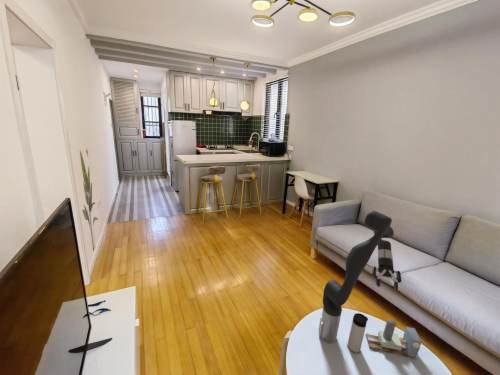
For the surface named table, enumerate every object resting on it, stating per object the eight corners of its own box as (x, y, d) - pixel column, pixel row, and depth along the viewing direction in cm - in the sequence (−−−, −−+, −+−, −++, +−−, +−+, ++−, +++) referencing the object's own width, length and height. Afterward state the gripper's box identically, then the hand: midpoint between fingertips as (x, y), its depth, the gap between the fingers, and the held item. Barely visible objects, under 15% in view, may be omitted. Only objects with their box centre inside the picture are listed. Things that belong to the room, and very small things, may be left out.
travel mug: (362, 354, 119) (369, 323, 114) (348, 351, 121) (355, 320, 115) (359, 344, 125) (366, 313, 120) (346, 341, 127) (352, 311, 121)
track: (369, 348, 123) (370, 345, 123) (365, 335, 131) (366, 332, 130) (416, 359, 119) (417, 355, 118) (409, 345, 126) (410, 341, 126)
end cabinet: (408, 355, 119) (412, 340, 116) (401, 341, 127) (406, 326, 124) (416, 357, 118) (421, 342, 116) (410, 343, 126) (414, 328, 123)
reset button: (399, 346, 122) (401, 341, 121) (397, 340, 125) (398, 335, 124) (406, 348, 121) (408, 342, 120) (403, 342, 124) (405, 336, 123)
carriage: (381, 346, 122) (387, 326, 118) (377, 335, 129) (382, 315, 125) (400, 350, 120) (406, 330, 117) (395, 338, 127) (401, 319, 123)
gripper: (374, 254, 135) (375, 284, 127) (401, 259, 132) (404, 290, 124) (369, 258, 141) (371, 286, 133) (395, 262, 138) (398, 292, 130)
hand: (387, 288), depth 129 cm, fingers open, 8 cm apart
